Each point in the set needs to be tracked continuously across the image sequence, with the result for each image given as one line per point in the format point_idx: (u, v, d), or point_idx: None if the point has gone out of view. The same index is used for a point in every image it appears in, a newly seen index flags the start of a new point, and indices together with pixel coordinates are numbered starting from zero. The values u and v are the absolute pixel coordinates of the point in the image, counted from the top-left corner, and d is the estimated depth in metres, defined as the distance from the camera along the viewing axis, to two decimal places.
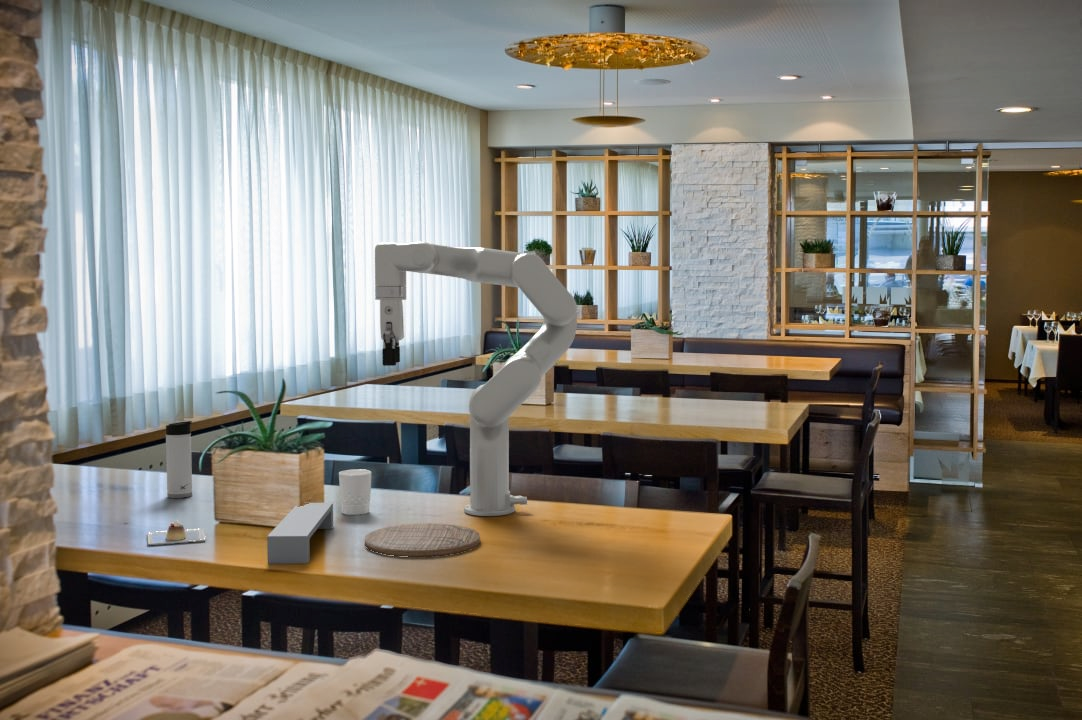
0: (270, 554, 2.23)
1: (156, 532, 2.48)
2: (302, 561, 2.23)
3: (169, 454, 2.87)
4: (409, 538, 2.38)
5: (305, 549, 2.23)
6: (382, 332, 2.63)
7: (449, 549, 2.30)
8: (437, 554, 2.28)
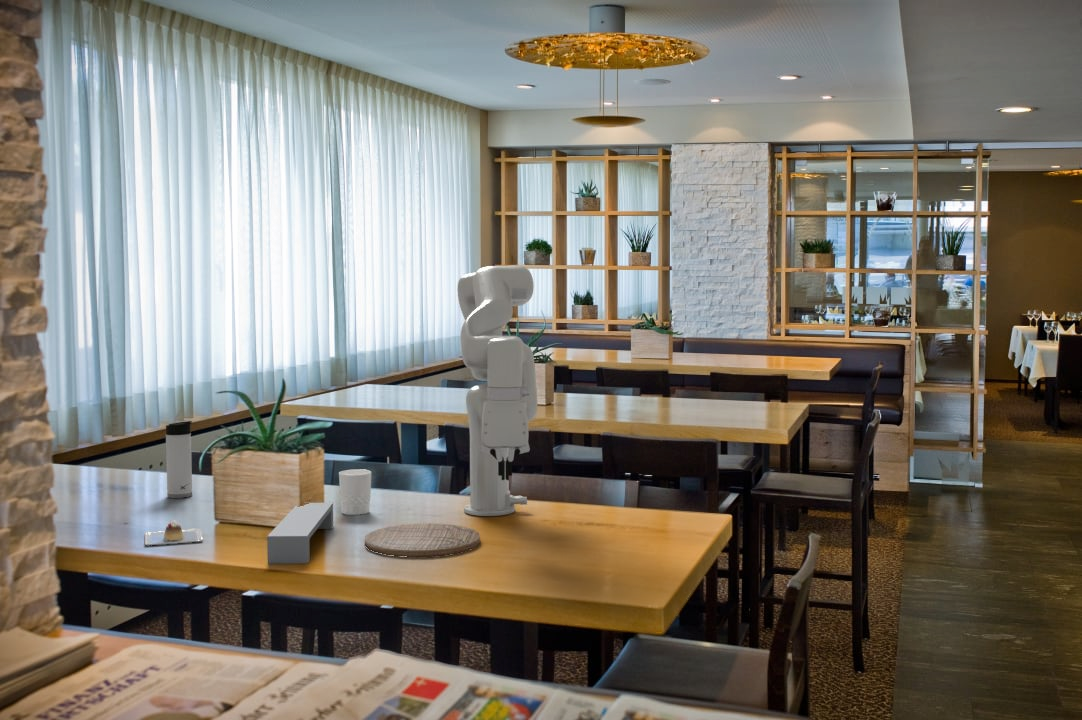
0: (270, 554, 2.23)
1: (154, 532, 2.48)
2: (302, 561, 2.23)
3: (169, 454, 2.87)
4: (409, 538, 2.38)
5: (305, 549, 2.23)
6: (527, 438, 2.37)
7: (449, 549, 2.30)
8: (437, 554, 2.28)
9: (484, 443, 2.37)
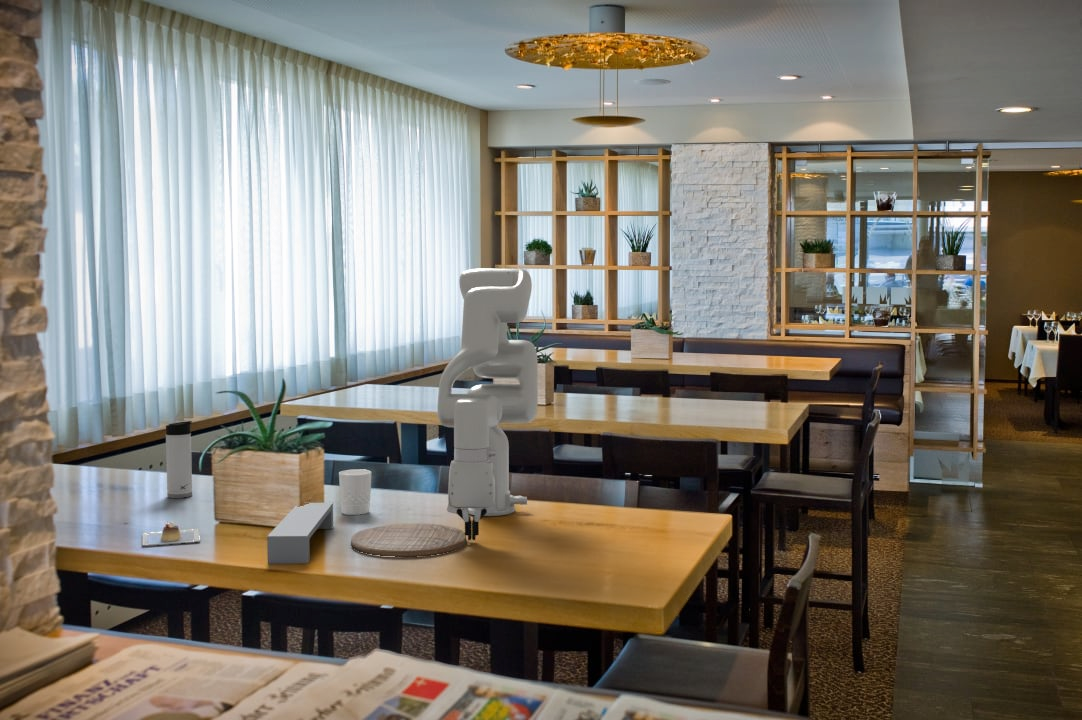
0: (270, 554, 2.23)
1: (151, 533, 2.47)
2: (302, 561, 2.23)
3: (169, 454, 2.87)
4: (395, 538, 2.38)
5: (305, 549, 2.23)
6: (494, 498, 2.38)
7: (433, 549, 2.29)
8: (421, 554, 2.28)
9: (451, 504, 2.37)
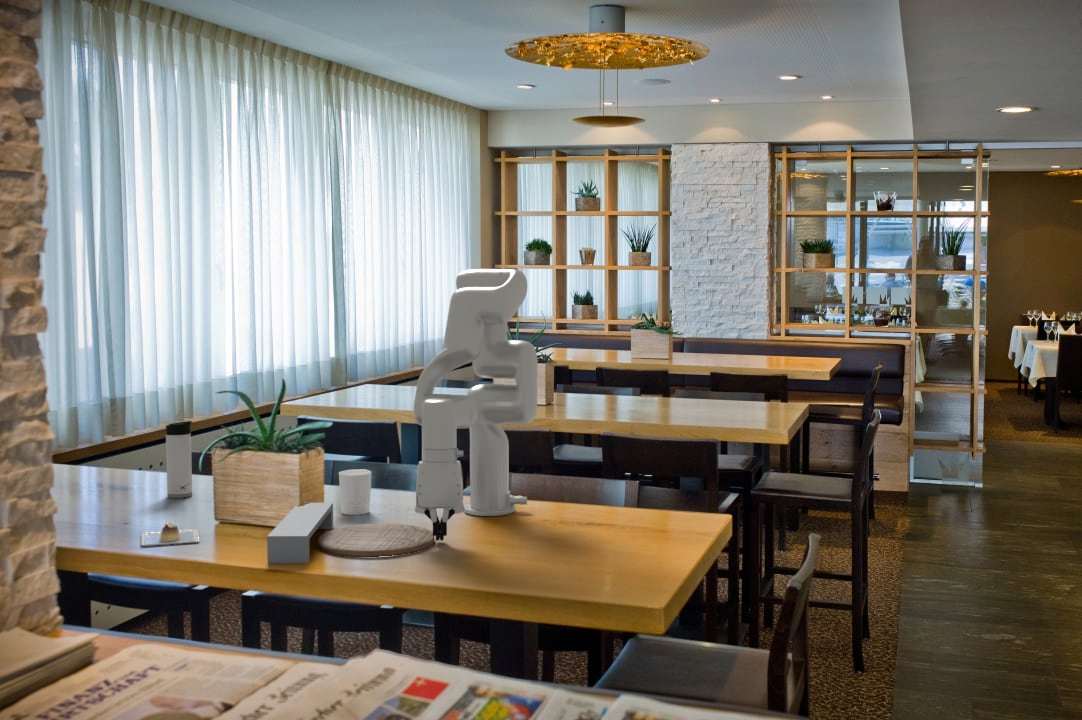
0: (270, 554, 2.23)
1: (150, 533, 2.47)
2: (302, 561, 2.23)
3: (169, 454, 2.87)
4: (362, 538, 2.38)
5: (305, 549, 2.23)
6: (462, 498, 2.38)
7: (398, 550, 2.29)
8: (385, 555, 2.28)
9: (418, 504, 2.37)
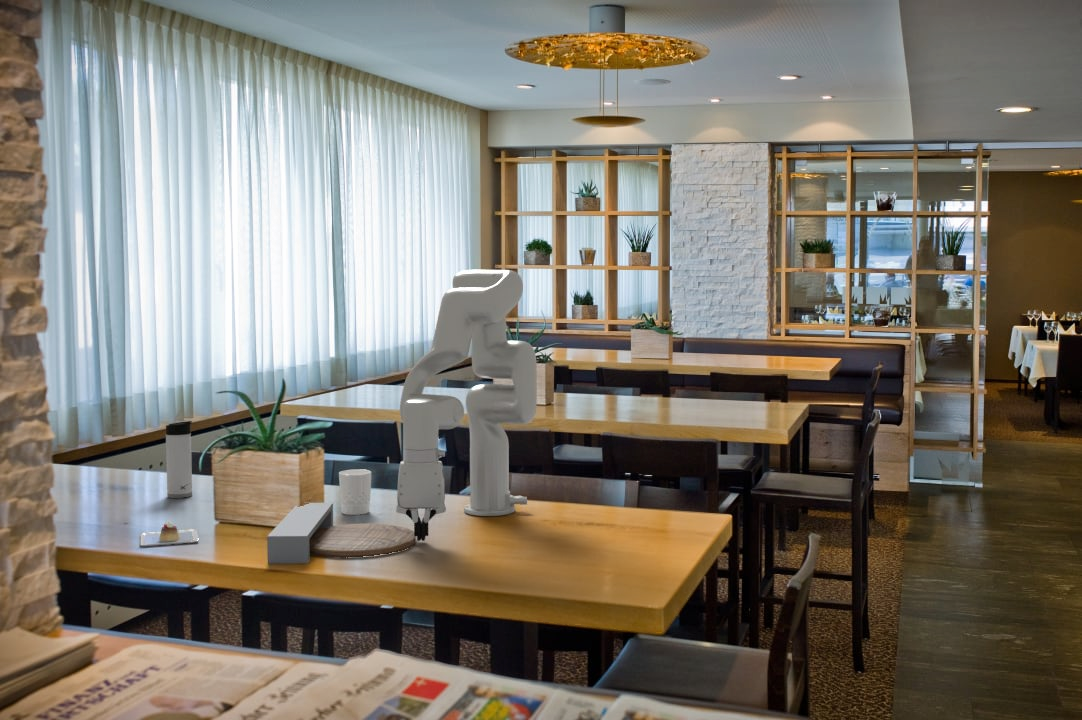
0: (270, 554, 2.23)
1: (149, 533, 2.47)
2: (302, 561, 2.23)
3: (169, 454, 2.87)
4: (343, 538, 2.38)
5: (305, 549, 2.23)
6: (443, 499, 2.38)
7: (378, 550, 2.29)
8: (365, 555, 2.28)
9: (399, 504, 2.37)
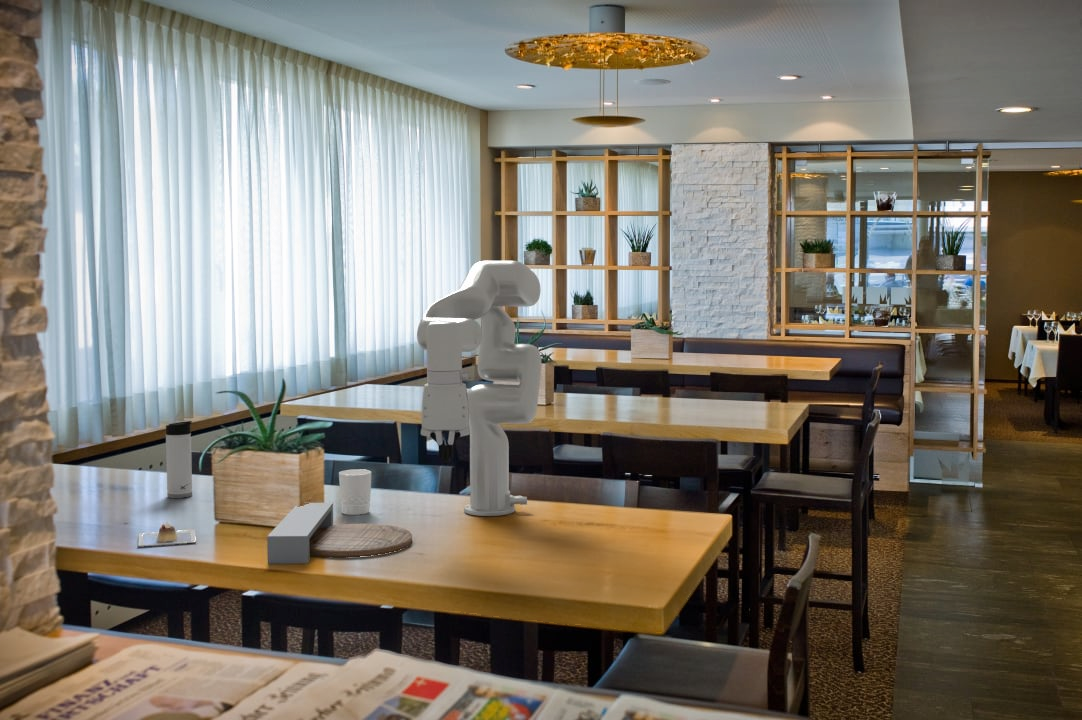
0: (270, 554, 2.23)
1: (147, 533, 2.47)
2: (302, 561, 2.23)
3: (169, 454, 2.87)
4: (340, 538, 2.38)
5: (305, 549, 2.23)
6: (467, 421, 2.37)
7: (374, 550, 2.29)
8: (361, 555, 2.28)
9: (424, 426, 2.37)
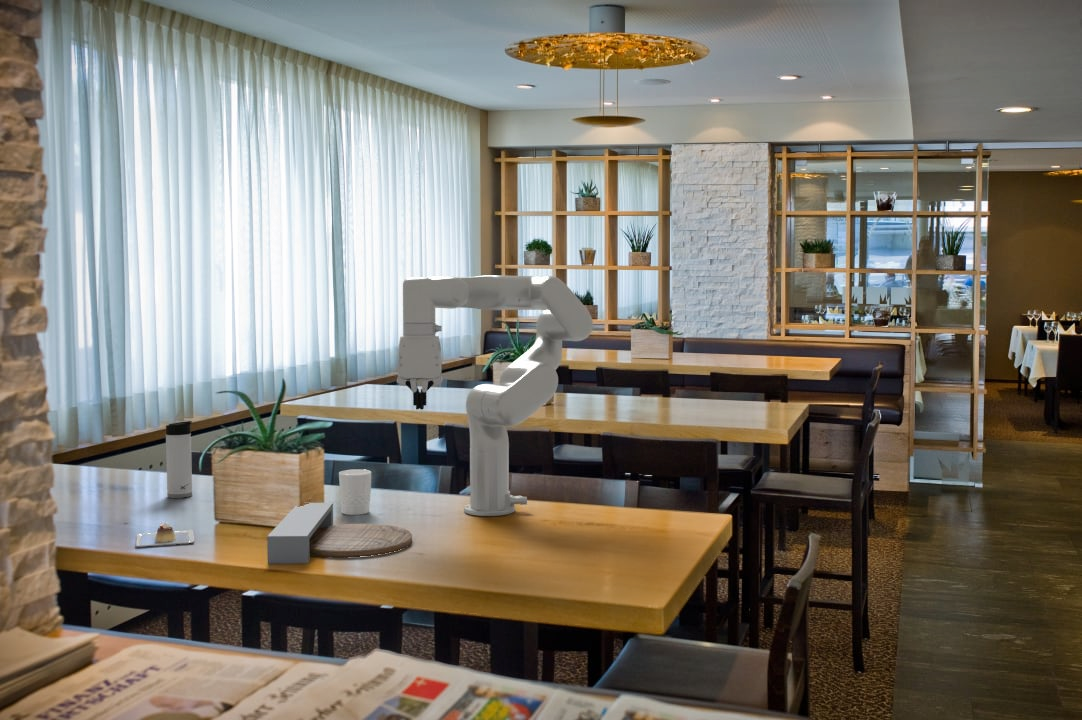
0: (270, 554, 2.23)
1: (146, 534, 2.47)
2: (302, 561, 2.23)
3: (169, 454, 2.87)
4: (339, 538, 2.38)
5: (305, 549, 2.23)
6: (440, 370, 2.56)
7: (374, 550, 2.29)
8: (361, 555, 2.28)
9: (399, 375, 2.55)
